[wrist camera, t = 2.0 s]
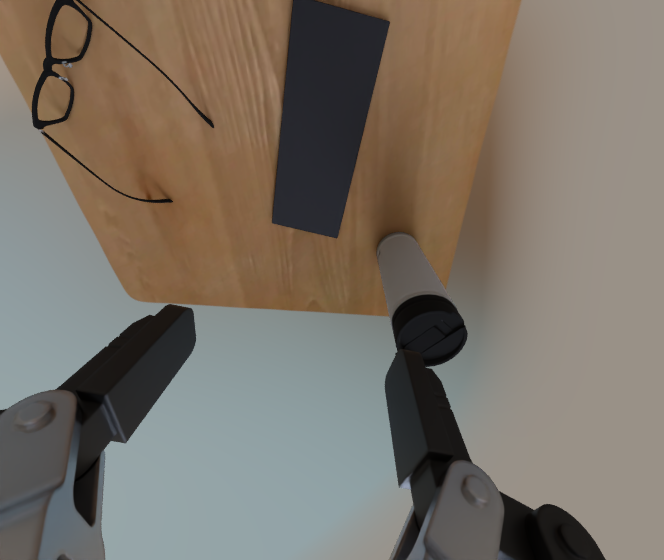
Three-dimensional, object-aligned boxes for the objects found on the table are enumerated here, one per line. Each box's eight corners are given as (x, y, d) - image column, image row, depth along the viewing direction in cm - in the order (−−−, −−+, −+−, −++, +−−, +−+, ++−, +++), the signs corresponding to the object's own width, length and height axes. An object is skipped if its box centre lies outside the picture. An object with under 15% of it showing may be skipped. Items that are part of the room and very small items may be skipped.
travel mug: (366, 252, 39) (378, 346, 22) (399, 222, 36) (443, 303, 19) (392, 277, 41) (422, 381, 23) (426, 250, 38) (488, 346, 21)
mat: (294, -3, 25) (293, -6, 25) (389, 23, 26) (390, 21, 25) (272, 222, 37) (271, 223, 37) (337, 237, 38) (337, 238, 37)
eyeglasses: (91, -6, 26) (52, -28, 23) (221, 114, 31) (205, 112, 27) (58, 129, 33) (23, 128, 29) (168, 211, 38) (150, 218, 34)
